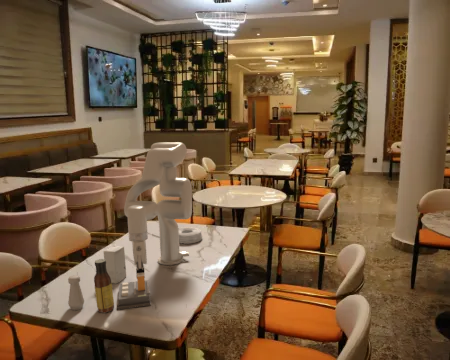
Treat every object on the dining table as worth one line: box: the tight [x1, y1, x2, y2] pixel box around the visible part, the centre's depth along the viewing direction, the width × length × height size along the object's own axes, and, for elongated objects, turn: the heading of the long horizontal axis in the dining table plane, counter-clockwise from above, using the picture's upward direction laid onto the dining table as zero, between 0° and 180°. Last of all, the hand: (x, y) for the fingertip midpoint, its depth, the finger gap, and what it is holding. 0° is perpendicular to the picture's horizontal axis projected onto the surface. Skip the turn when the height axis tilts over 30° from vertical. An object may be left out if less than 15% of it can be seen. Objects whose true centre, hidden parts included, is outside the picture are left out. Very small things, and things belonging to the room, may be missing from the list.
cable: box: [178, 226, 203, 245], centre depth 231 cm, size 18×18×6 cm
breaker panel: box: [118, 279, 151, 305], centre depth 161 cm, size 12×15×4 cm
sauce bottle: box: [93, 258, 115, 313], centre depth 149 cm, size 7×6×20 cm
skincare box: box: [103, 245, 127, 285], centre depth 176 cm, size 8×6×15 cm
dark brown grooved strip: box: [117, 300, 151, 310], centre depth 152 cm, size 12×2×1 cm, turn 103°
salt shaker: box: [67, 274, 85, 311], centre depth 151 cm, size 6×6×13 cm
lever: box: [136, 272, 146, 291], centre depth 159 cm, size 3×2×7 cm
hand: (140, 277), depth 163 cm, fingers closed
